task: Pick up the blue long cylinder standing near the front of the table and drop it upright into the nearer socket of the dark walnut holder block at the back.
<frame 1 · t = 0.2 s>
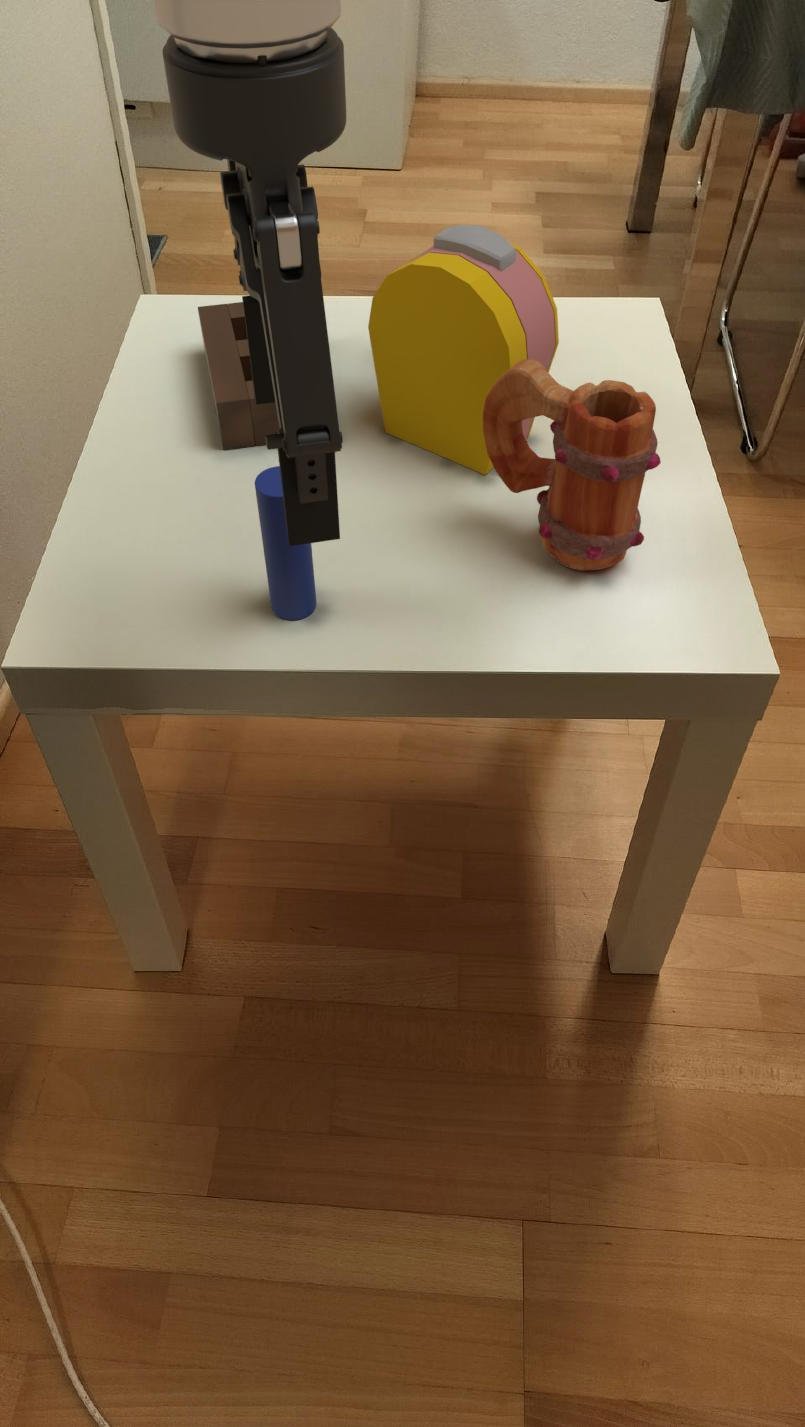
hand: (294, 463, 57), 21 cm above the table, tool pointing down, fingers open, 13 cm apart
mug: (555, 541, 85), on the table
holder: (265, 392, 99), on the table
blue long cylinder: (293, 604, 80), on the table
alarm clock: (459, 434, 95), on the table
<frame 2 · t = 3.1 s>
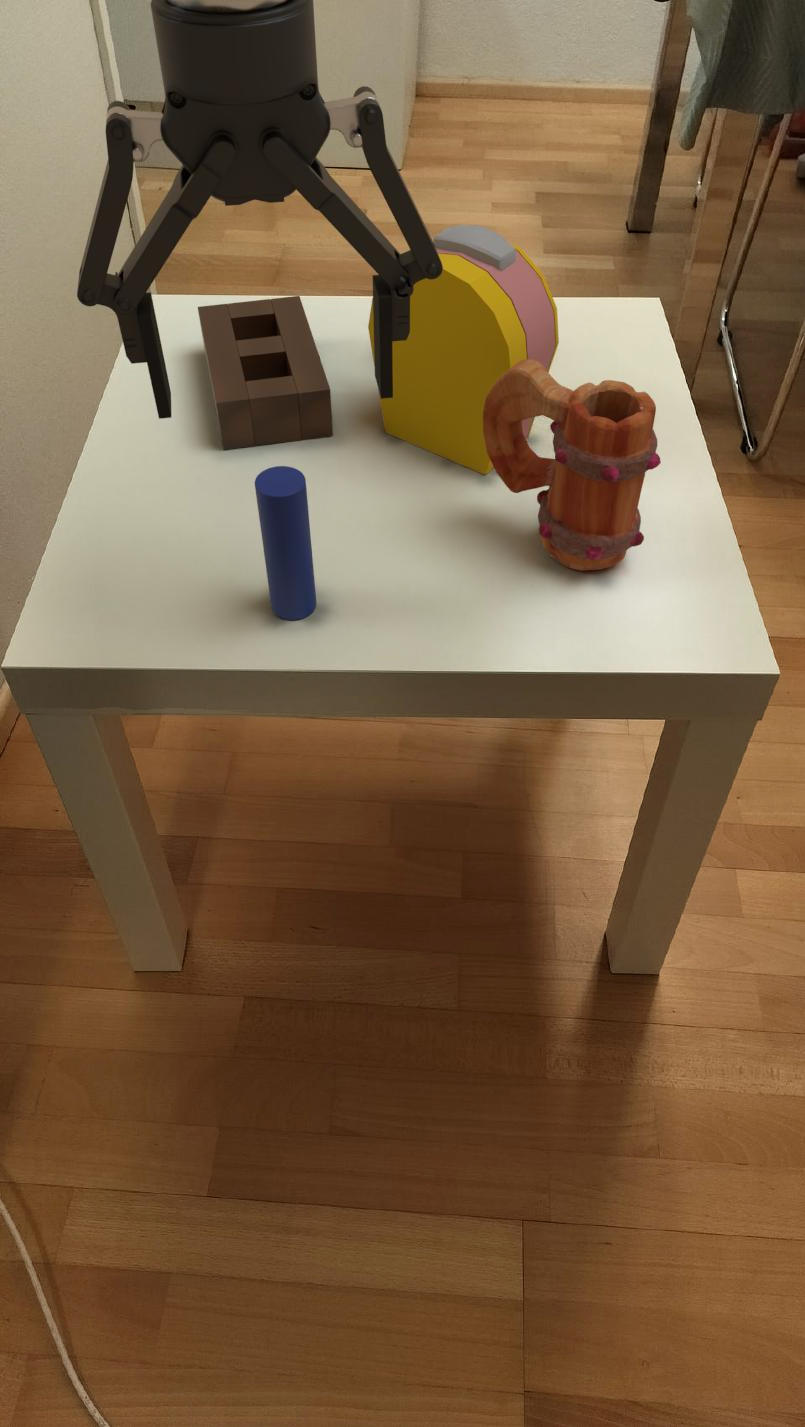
hand: (275, 396, 62), 21 cm above the table, tool pointing down, fingers open, 13 cm apart
nothing on the table moved.
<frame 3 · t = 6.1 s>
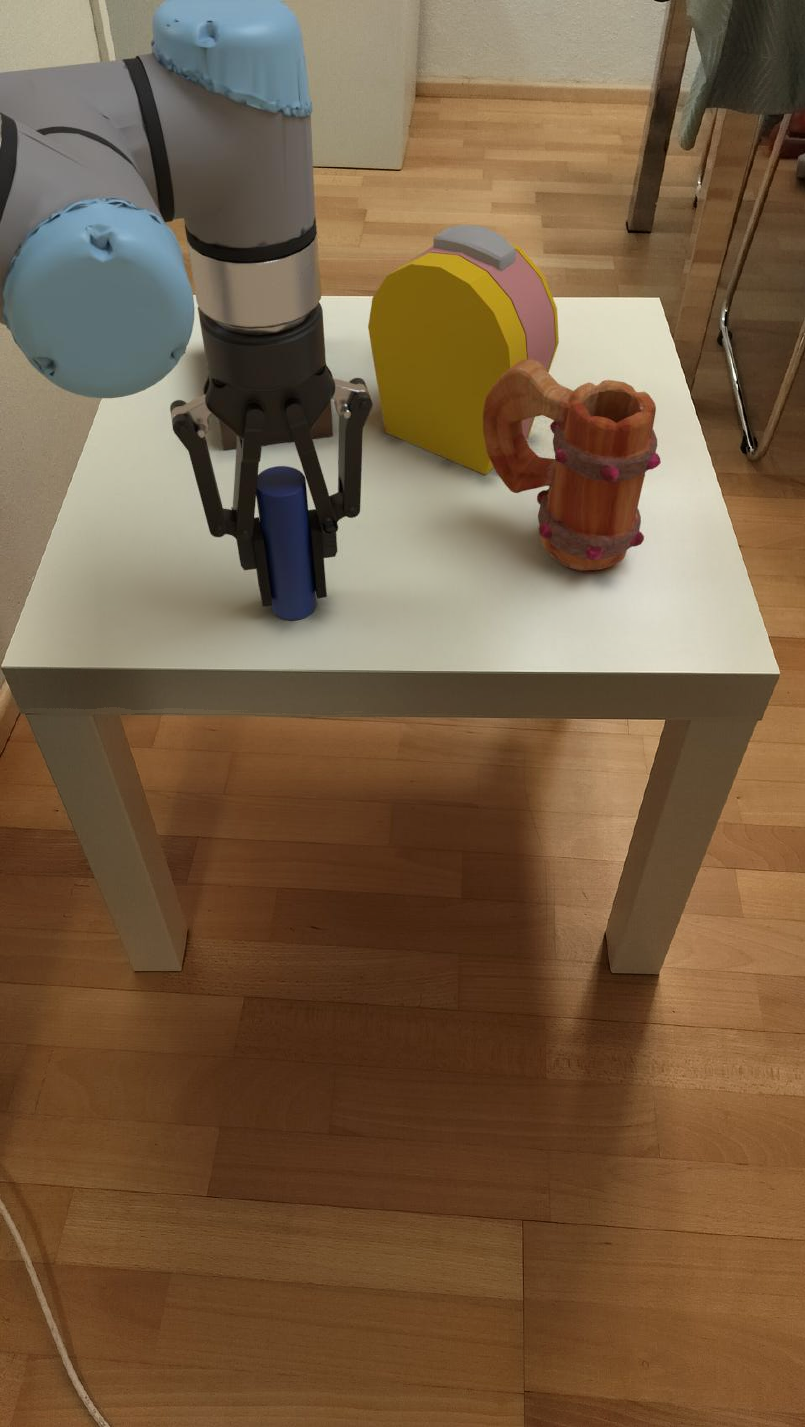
hand: (292, 589, 78), 2 cm above the table, tool pointing down, fingers closed on blue long cylinder, 4 cm apart
blue long cylinder: (293, 604, 80), on the table, touching gripper
everything else where it was.
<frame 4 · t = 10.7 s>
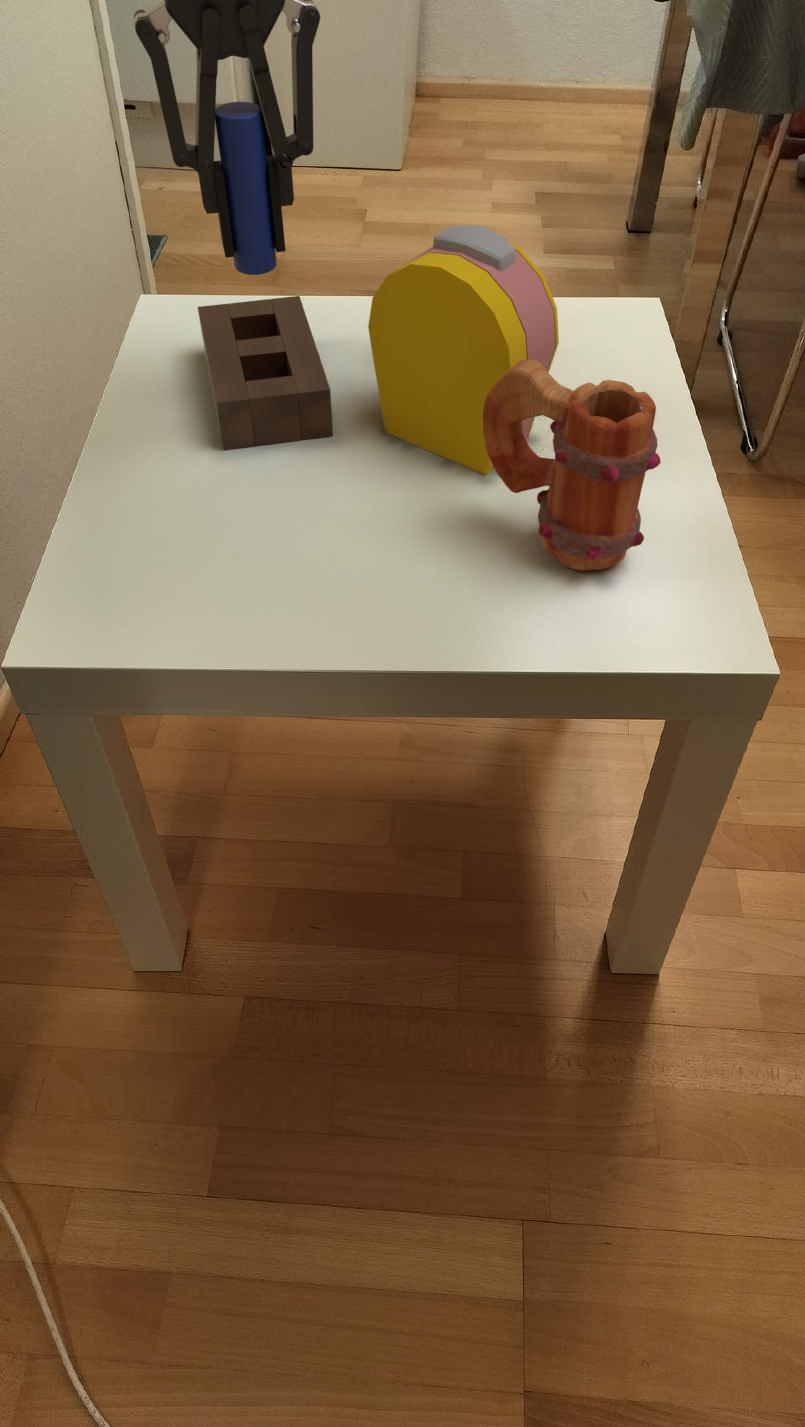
hand: (253, 246, 84), 16 cm above the table, tool pointing down, fingers closed on blue long cylinder, 4 cm apart
blue long cylinder: (255, 265, 85), point 15 cm above the table, touching gripper
everything else where it was.
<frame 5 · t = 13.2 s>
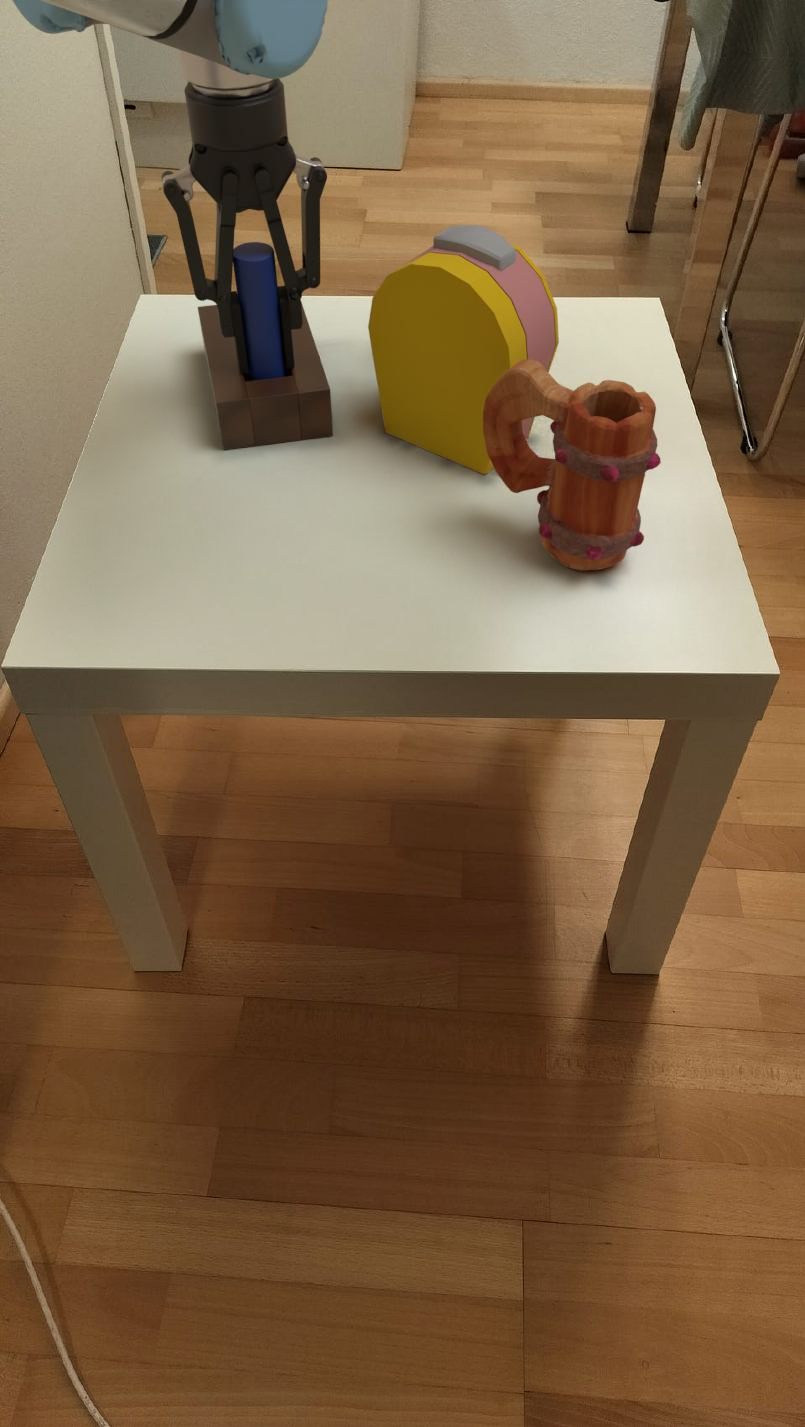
hand: (265, 362, 93), 5 cm above the table, tool pointing down, fingers closed on blue long cylinder, 4 cm apart
blue long cylinder: (267, 378, 94), point 4 cm above the table, touching gripper
everything else where it was.
when the fingers open (5 cm above the table, at t = 15.5 s): blue long cylinder drops 3 cm, point 1 cm above the table.
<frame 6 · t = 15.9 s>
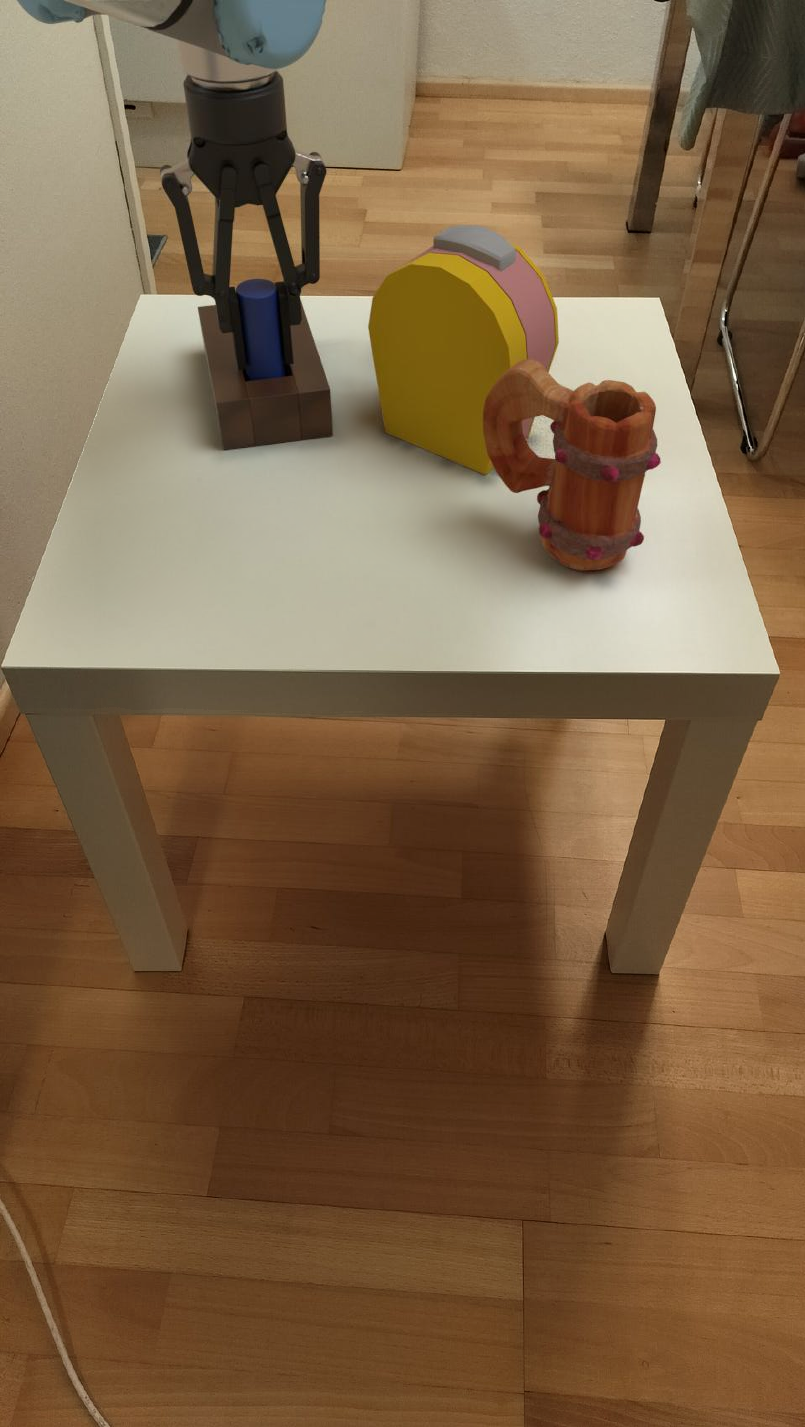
hand: (264, 358, 93), 6 cm above the table, tool pointing down, fingers open, 4 cm apart
blue long cylinder: (269, 408, 97), point 1 cm above the table, touching gripper
everything else where it was.
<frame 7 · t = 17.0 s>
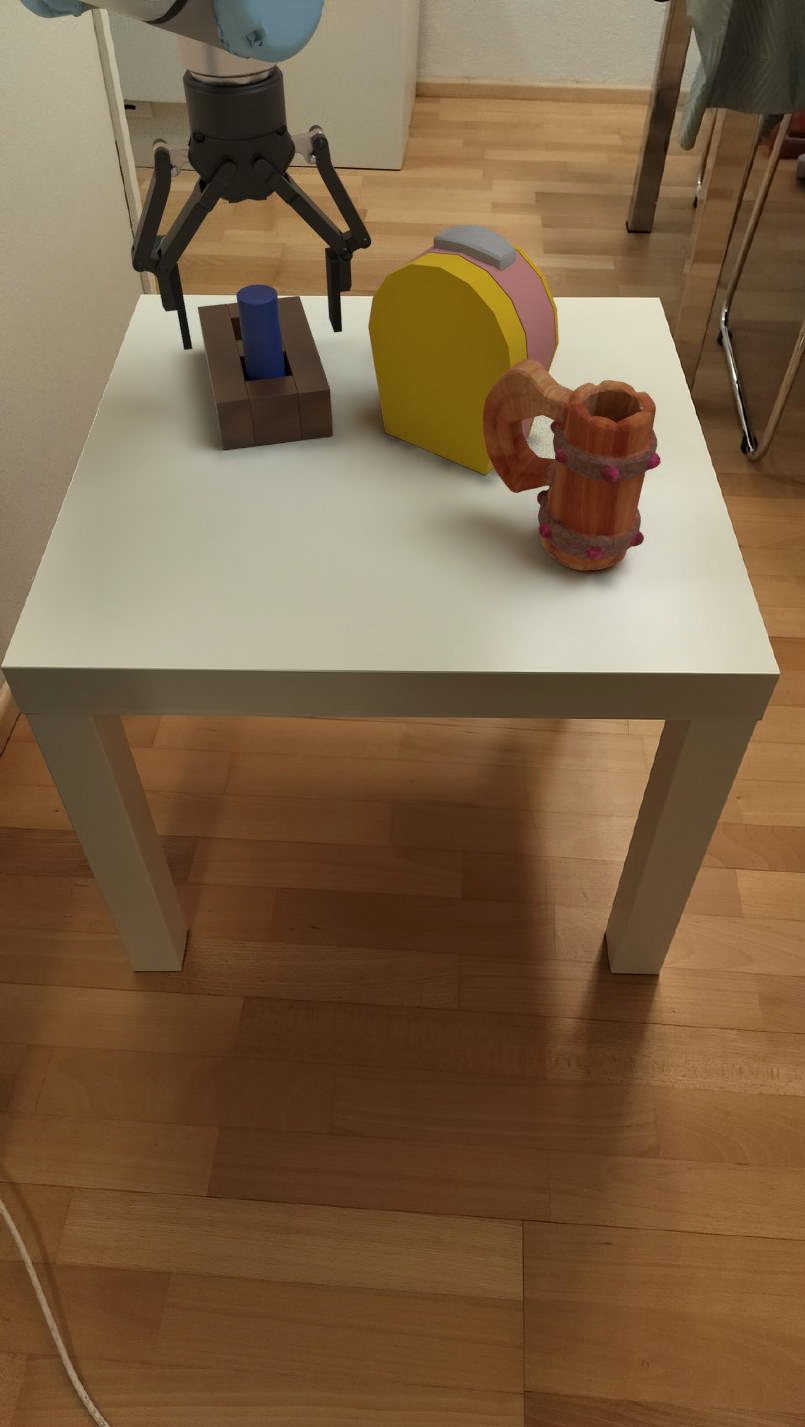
hand: (262, 333, 91), 8 cm above the table, tool pointing down, fingers open, 13 cm apart
blue long cylinder: (270, 413, 97), resting in holder
everything else where it was.
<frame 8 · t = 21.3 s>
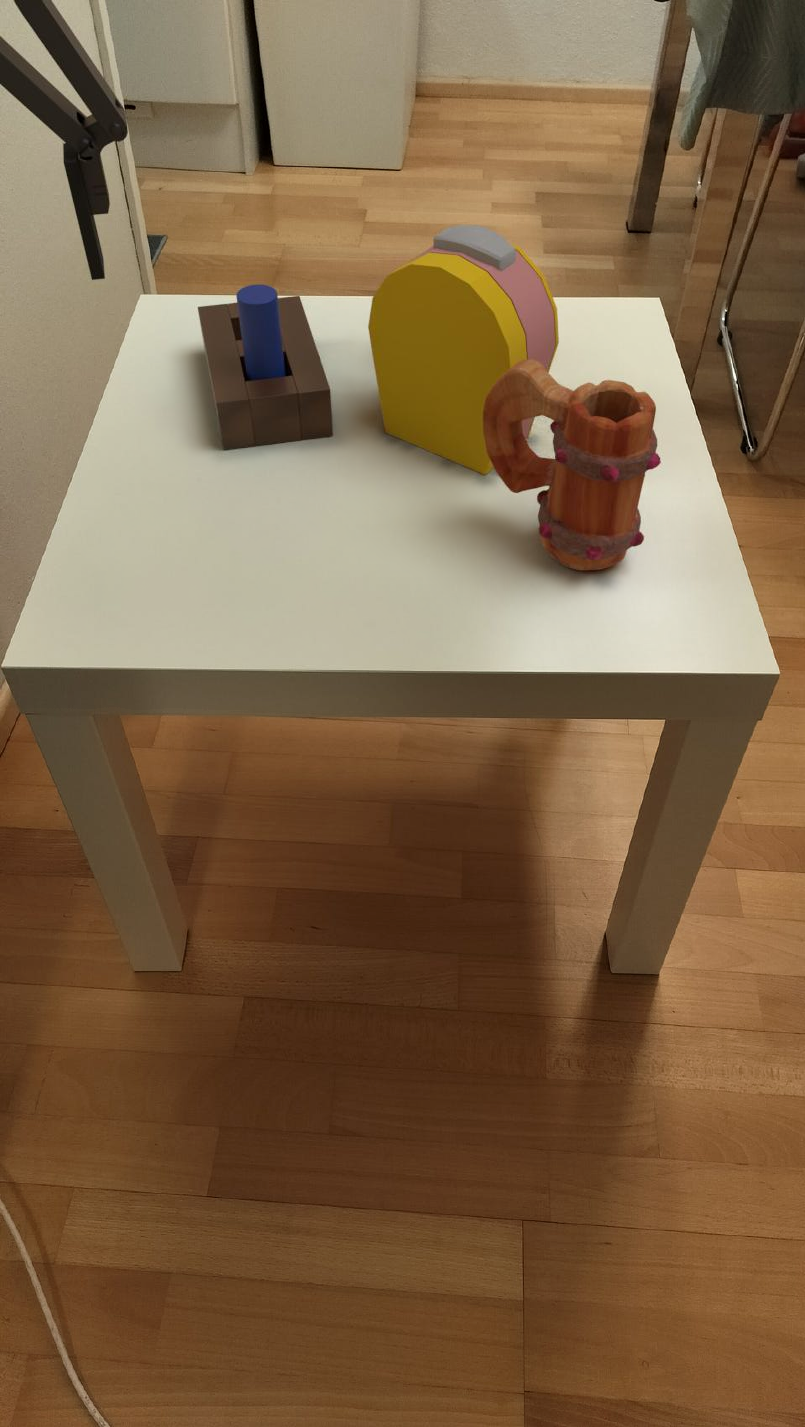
nothing on the table moved.
at the end: blue long cylinder 0.1 cm from the target spot in the holder, point 0.0 cm above the holder's base; blue long cylinder tilted 0°; the gripper is holding nothing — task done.
